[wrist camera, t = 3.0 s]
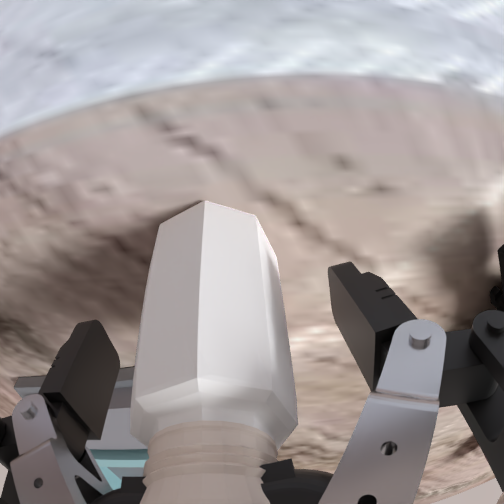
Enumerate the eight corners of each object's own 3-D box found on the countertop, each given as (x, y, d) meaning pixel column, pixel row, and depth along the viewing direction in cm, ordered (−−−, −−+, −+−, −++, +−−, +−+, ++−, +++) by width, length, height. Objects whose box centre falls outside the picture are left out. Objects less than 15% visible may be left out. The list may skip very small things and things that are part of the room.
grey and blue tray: (19, 377, 16) (2, 409, 13) (182, 359, 16) (177, 403, 13) (125, 488, 22) (122, 513, 20) (248, 481, 22) (251, 509, 20)
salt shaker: (138, 206, 12) (-12, 458, 2) (274, 193, 13) (427, 447, 3) (161, 318, 15) (125, 557, 5) (276, 308, 15) (344, 546, 5)
